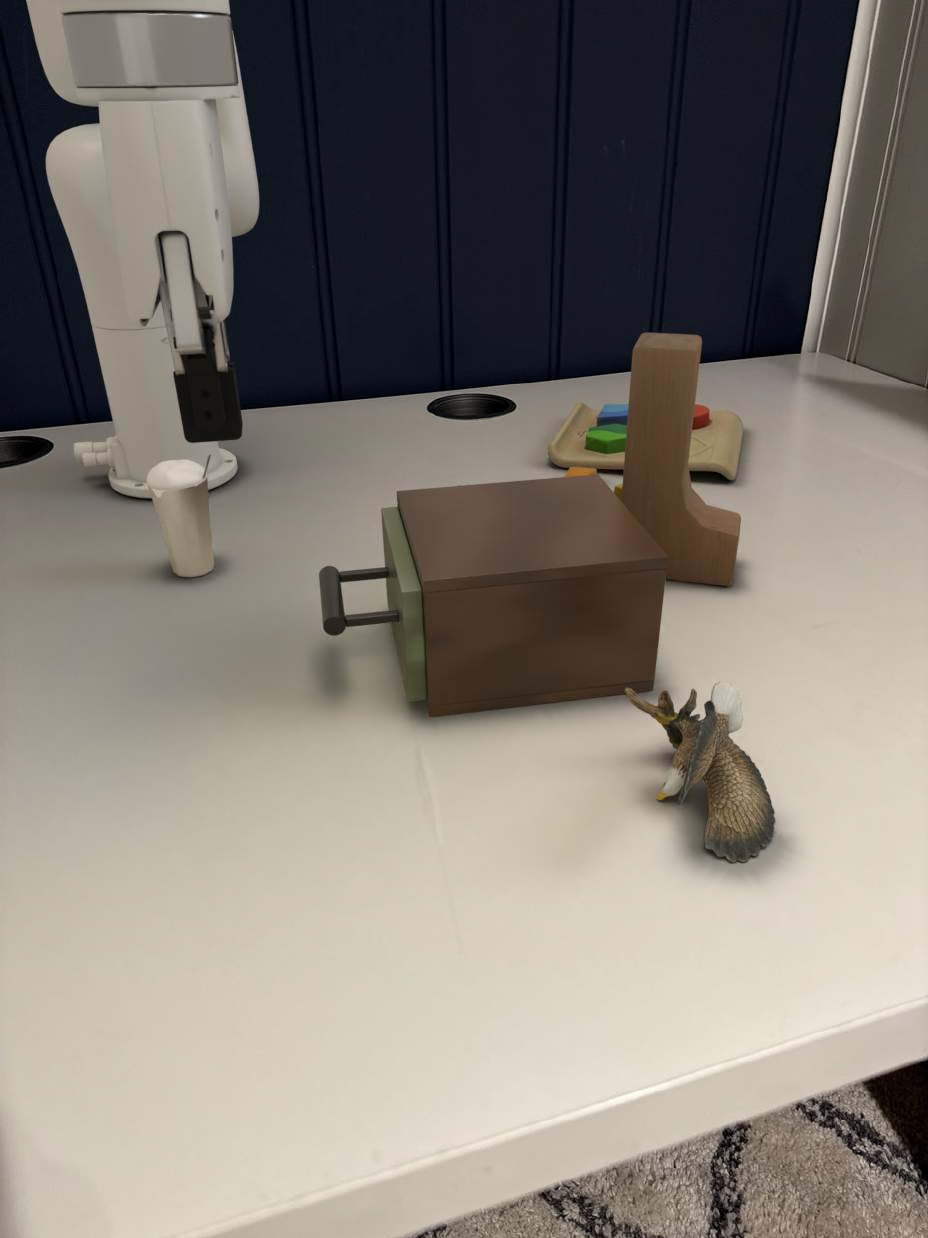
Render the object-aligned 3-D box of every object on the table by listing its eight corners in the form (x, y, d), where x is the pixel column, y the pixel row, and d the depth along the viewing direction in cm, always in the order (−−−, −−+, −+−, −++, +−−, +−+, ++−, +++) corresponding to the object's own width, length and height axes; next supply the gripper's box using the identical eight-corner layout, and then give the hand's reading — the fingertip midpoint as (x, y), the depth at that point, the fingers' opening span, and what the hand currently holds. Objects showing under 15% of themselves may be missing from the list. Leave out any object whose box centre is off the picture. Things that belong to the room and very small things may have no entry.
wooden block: (734, 562, 73) (768, 336, 64) (731, 588, 69) (767, 352, 60) (623, 550, 75) (640, 330, 66) (615, 574, 72) (632, 345, 62)
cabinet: (429, 717, 56) (423, 580, 51) (403, 610, 67) (396, 490, 62) (653, 690, 58) (668, 556, 53) (591, 591, 69) (598, 473, 64)
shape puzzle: (578, 416, 106) (579, 387, 105) (743, 429, 101) (747, 399, 100) (525, 496, 86) (525, 462, 84) (729, 517, 80) (734, 482, 79)
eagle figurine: (586, 746, 51) (647, 833, 43) (653, 640, 50) (729, 708, 41) (689, 793, 53) (766, 884, 45) (755, 694, 52) (847, 768, 44)
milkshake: (217, 584, 71) (196, 465, 66) (155, 579, 72) (129, 461, 67) (240, 559, 75) (222, 444, 70) (181, 554, 76) (159, 441, 71)
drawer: (331, 711, 55) (319, 599, 51) (323, 612, 65) (312, 513, 61) (617, 677, 57) (626, 569, 53) (564, 587, 68) (569, 491, 64)
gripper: (97, 65, 48) (161, 400, 58) (36, 63, 35) (131, 493, 45) (240, 63, 49) (279, 393, 59) (230, 62, 37) (282, 481, 46)
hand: (214, 435), depth 52 cm, fingers closed
